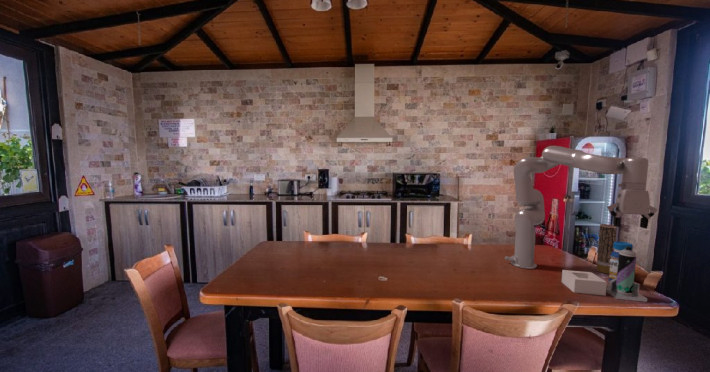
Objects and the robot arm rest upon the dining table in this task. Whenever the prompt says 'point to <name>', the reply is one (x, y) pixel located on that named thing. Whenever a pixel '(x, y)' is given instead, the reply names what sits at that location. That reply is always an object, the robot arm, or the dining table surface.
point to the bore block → (584, 282)
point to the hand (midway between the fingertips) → (629, 227)
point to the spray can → (626, 271)
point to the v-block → (635, 295)
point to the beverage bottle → (616, 258)
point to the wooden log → (605, 247)
